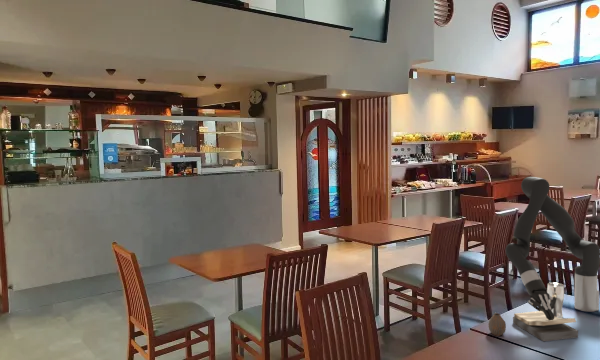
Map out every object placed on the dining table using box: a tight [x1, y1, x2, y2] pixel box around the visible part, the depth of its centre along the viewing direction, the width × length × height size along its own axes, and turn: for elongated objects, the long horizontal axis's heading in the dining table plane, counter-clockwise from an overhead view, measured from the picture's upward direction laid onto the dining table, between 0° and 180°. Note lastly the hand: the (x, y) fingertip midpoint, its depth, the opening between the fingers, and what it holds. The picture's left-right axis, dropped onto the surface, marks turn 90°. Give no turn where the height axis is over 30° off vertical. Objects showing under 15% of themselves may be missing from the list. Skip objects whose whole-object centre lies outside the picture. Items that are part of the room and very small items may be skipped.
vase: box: [488, 312, 507, 337], centre depth 196 cm, size 7×7×9 cm
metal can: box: [546, 282, 565, 318], centre depth 213 cm, size 7×7×15 cm
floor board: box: [512, 310, 579, 342], centre depth 198 cm, size 20×16×4 cm
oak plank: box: [529, 317, 577, 326], centre depth 193 cm, size 10×15×2 cm, turn 100°
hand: (551, 319), depth 193 cm, fingers closed
